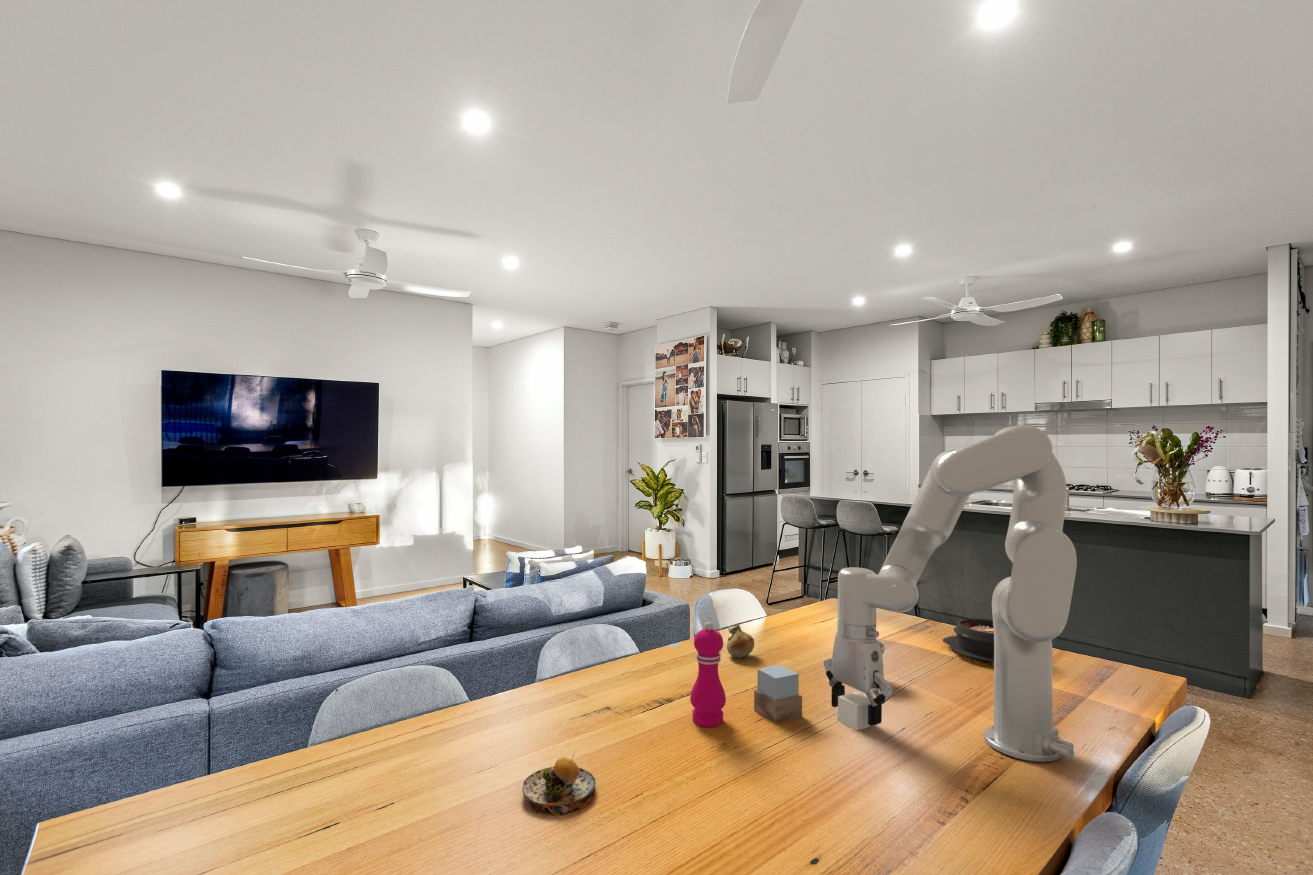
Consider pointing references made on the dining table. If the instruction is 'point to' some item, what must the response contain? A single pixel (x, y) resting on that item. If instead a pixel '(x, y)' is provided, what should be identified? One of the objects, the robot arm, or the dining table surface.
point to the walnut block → (778, 707)
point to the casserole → (974, 639)
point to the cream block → (853, 710)
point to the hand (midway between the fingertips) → (855, 714)
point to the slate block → (778, 682)
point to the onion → (739, 643)
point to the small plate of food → (559, 788)
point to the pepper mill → (708, 679)
